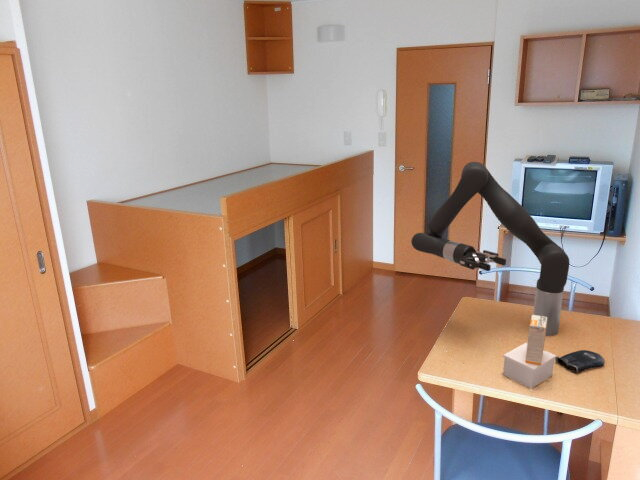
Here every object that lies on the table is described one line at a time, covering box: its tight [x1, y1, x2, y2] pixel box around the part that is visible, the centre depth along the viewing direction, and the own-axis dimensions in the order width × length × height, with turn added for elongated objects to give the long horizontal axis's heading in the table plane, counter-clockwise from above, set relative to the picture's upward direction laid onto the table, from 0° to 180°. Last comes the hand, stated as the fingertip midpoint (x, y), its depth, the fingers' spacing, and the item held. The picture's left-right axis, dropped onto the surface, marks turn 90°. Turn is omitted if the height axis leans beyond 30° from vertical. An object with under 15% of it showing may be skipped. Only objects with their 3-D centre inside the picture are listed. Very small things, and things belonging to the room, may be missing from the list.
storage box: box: [502, 342, 557, 389], centre depth 159 cm, size 13×11×7 cm
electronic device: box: [554, 349, 606, 374], centre depth 165 cm, size 9×6×15 cm
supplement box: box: [525, 314, 547, 365], centre depth 155 cm, size 8×5×13 cm, turn 154°
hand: (497, 265), depth 166 cm, fingers open, 8 cm apart
